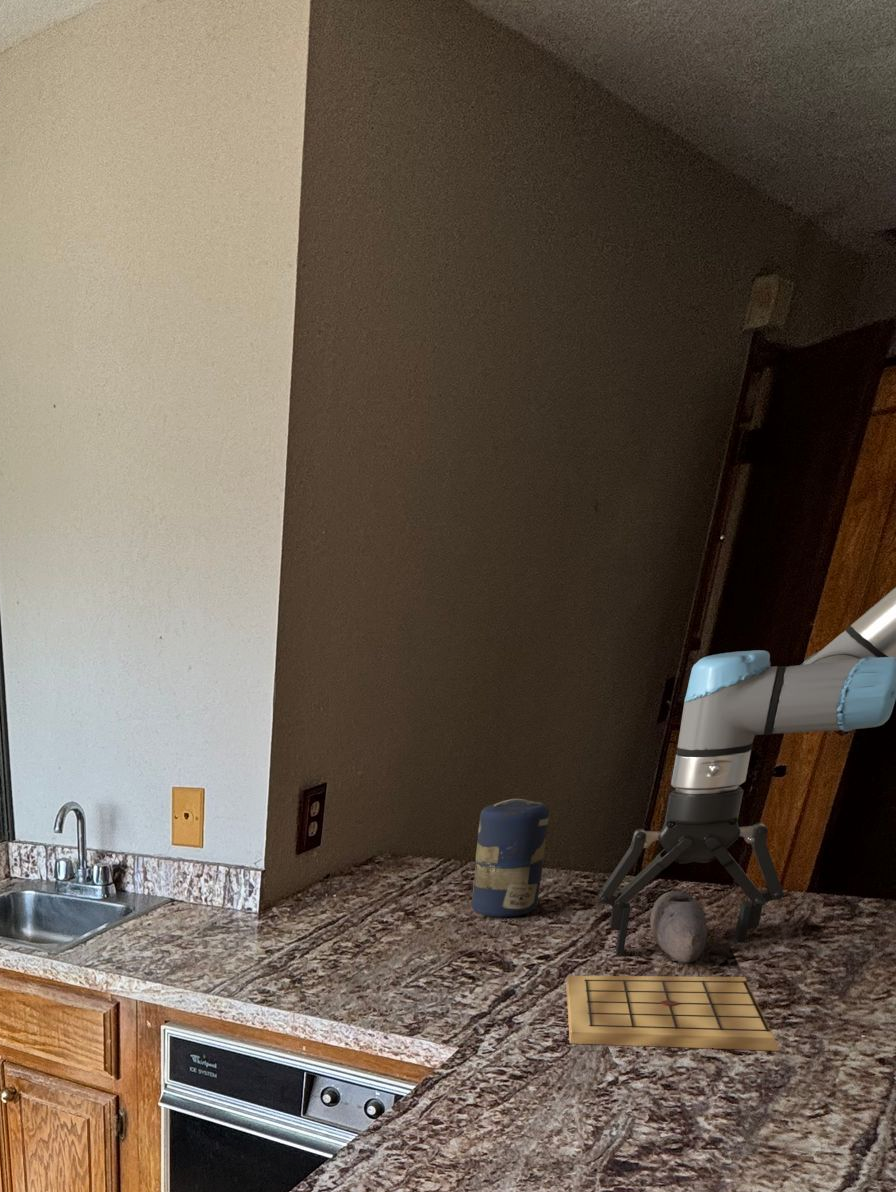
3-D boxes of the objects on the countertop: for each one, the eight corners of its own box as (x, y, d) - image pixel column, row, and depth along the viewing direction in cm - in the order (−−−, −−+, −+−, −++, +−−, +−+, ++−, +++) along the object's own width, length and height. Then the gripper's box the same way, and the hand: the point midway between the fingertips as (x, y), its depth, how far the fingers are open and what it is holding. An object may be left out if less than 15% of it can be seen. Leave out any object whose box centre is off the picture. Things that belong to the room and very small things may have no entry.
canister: (485, 902, 167) (495, 792, 159) (547, 906, 160) (561, 791, 153) (460, 918, 162) (470, 804, 154) (523, 922, 155) (537, 804, 147)
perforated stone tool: (712, 971, 127) (722, 917, 124) (662, 971, 129) (671, 919, 126) (689, 936, 139) (698, 887, 136) (644, 938, 141) (652, 889, 138)
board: (759, 988, 120) (762, 976, 120) (791, 1051, 105) (795, 1037, 104) (566, 986, 130) (567, 974, 129) (569, 1043, 115) (571, 1030, 114)
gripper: (592, 800, 128) (571, 960, 137) (840, 784, 116) (798, 961, 125) (590, 789, 134) (569, 944, 143) (826, 774, 122) (786, 943, 131)
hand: (676, 952), depth 134 cm, fingers open, 12 cm apart
